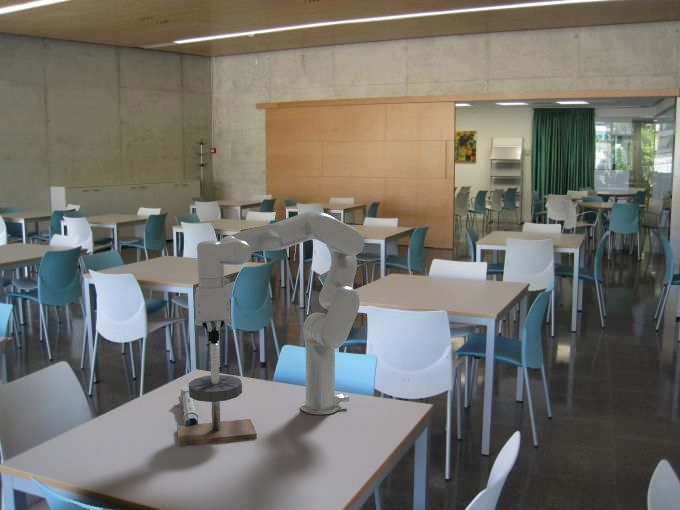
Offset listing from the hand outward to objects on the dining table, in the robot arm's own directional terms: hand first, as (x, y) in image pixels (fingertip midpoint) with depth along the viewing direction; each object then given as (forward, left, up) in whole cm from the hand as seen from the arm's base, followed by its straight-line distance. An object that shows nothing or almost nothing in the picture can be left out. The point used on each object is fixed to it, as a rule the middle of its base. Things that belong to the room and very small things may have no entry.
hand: (214, 343), depth 210 cm
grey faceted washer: (+1, +6, -13) cm, 15 cm away
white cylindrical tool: (+7, -12, -27) cm, 30 cm away
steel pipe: (+1, +6, -25) cm, 25 cm away
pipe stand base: (+1, +6, -26) cm, 27 cm away
